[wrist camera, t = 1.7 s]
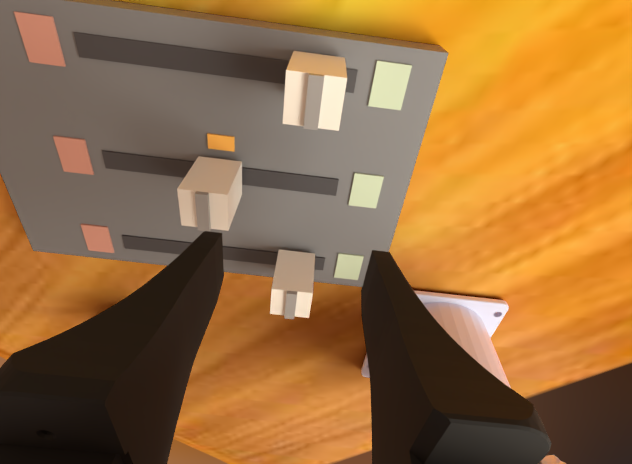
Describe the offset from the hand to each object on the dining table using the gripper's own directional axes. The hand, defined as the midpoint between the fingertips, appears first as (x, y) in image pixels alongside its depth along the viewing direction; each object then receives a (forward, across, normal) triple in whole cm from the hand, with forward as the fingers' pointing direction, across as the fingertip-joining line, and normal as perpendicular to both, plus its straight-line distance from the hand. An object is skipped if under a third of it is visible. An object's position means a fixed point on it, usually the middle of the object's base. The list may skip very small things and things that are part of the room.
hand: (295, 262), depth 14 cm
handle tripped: (+6, +4, 0) cm, 7 cm away
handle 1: (+6, 0, +5) cm, 8 cm away
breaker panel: (+7, +5, 0) cm, 9 cm away
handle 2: (+6, 0, -5) cm, 7 cm away
